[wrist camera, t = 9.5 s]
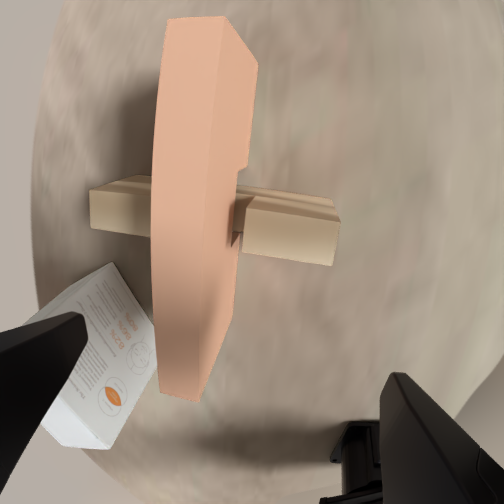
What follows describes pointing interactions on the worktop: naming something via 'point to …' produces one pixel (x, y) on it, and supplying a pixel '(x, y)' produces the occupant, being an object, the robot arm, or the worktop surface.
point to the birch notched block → (244, 220)
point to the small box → (101, 361)
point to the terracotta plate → (197, 195)
